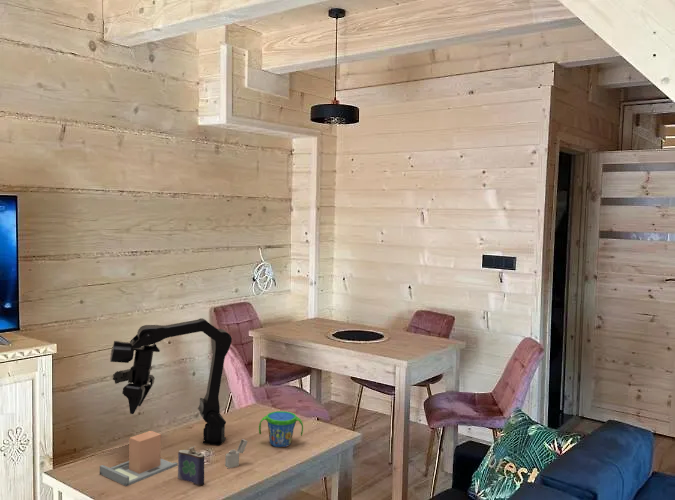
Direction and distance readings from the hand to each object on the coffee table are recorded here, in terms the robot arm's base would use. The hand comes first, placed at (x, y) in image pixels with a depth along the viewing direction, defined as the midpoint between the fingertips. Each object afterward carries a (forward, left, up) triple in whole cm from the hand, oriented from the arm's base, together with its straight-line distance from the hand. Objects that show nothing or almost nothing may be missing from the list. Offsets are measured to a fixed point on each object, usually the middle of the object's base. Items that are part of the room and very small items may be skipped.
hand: (135, 409), depth 201 cm
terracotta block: (-10, +12, -14) cm, 20 cm away
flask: (-27, +17, -14) cm, 35 cm away
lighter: (-36, +2, -14) cm, 39 cm away
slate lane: (-9, +13, -14) cm, 21 cm away
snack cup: (-45, -19, -14) cm, 51 cm away
